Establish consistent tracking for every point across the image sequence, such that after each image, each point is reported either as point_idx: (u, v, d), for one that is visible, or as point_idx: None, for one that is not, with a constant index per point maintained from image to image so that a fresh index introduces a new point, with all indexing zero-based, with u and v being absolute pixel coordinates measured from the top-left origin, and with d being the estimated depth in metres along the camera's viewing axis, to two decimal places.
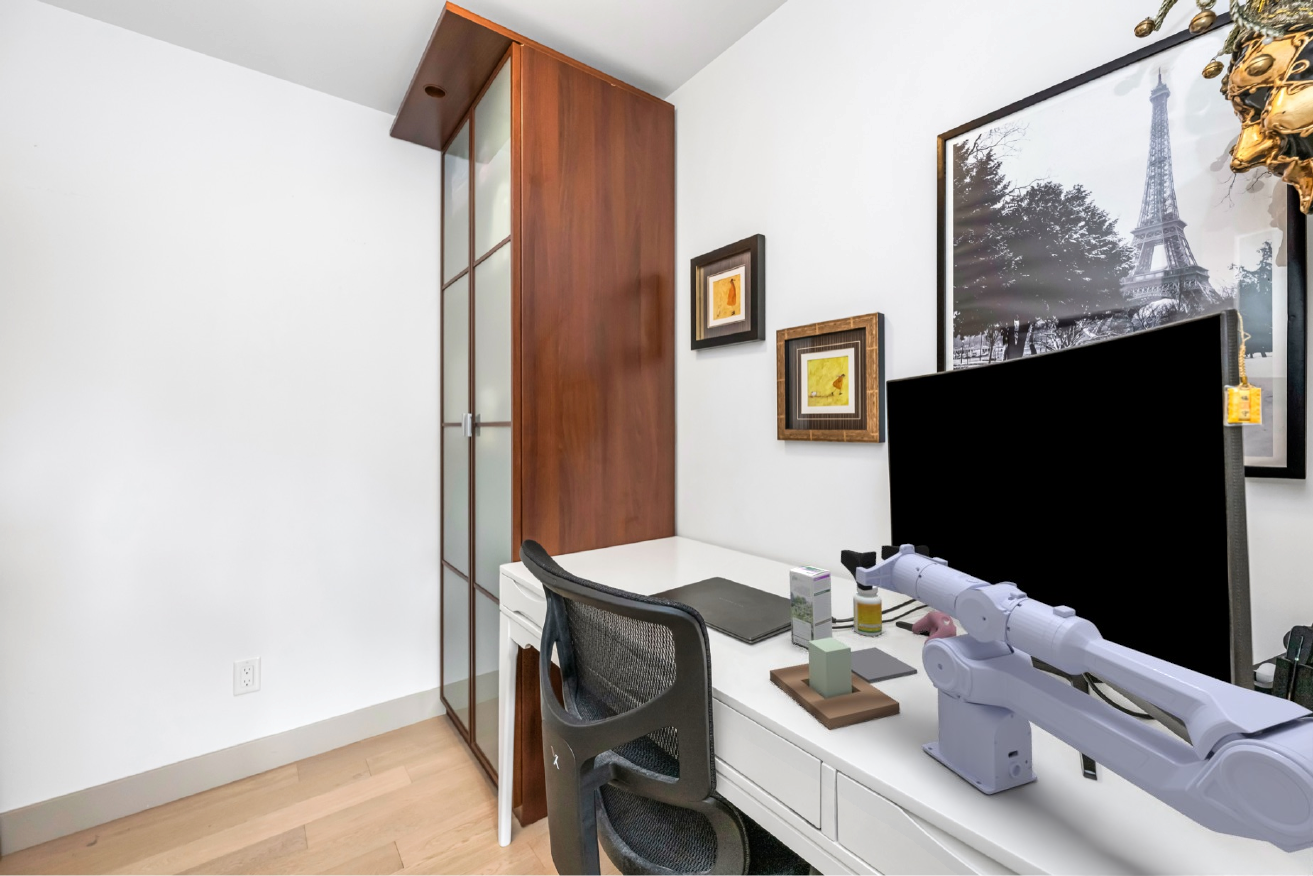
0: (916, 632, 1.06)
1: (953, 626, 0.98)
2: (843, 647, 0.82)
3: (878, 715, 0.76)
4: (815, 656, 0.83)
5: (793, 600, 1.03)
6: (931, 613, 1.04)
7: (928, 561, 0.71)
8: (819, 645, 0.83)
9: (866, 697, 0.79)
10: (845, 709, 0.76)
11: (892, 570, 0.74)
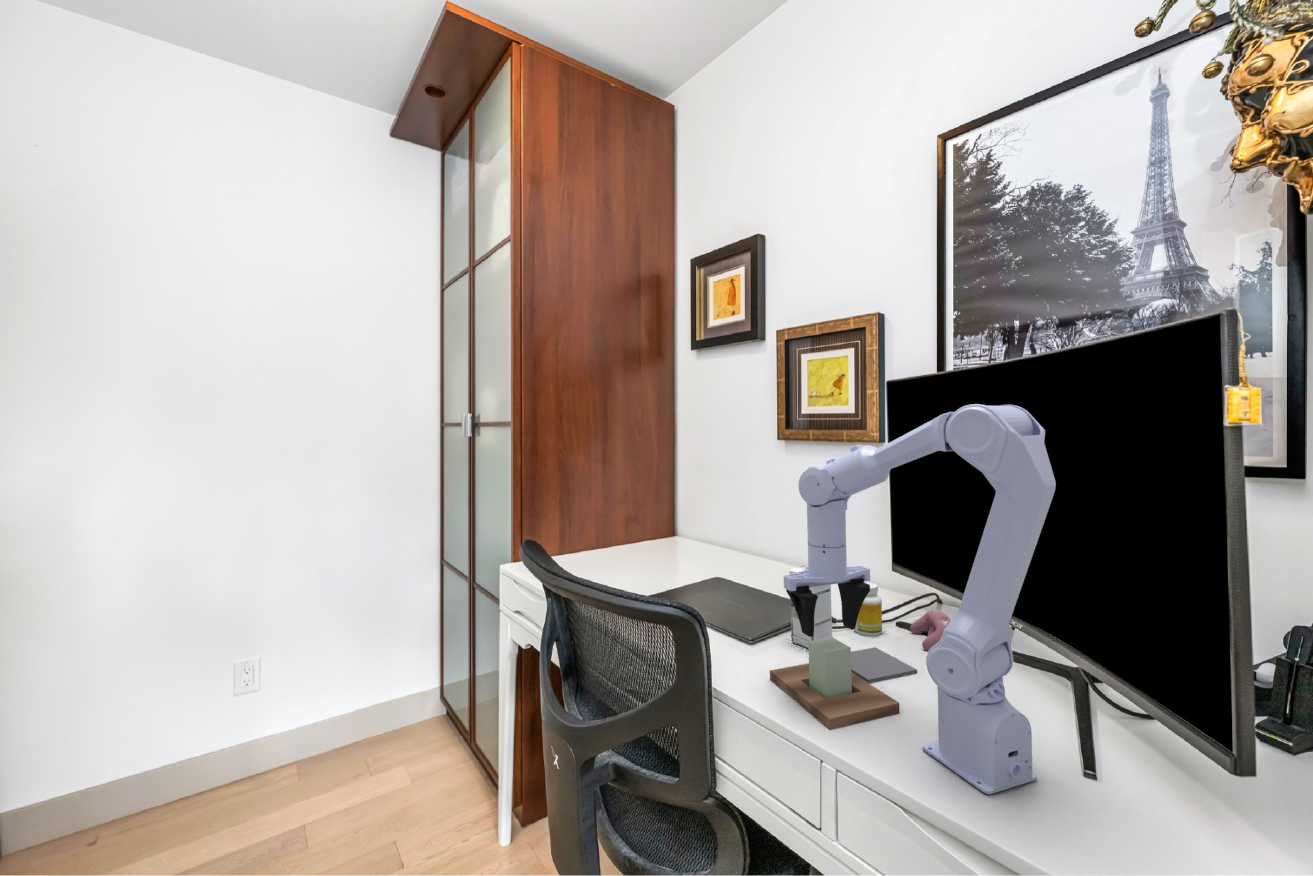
0: (914, 632, 1.06)
1: None
2: (843, 647, 0.82)
3: (878, 715, 0.76)
4: (815, 656, 0.83)
5: None
6: (929, 613, 1.04)
7: None
8: (819, 645, 0.83)
9: (866, 697, 0.79)
10: (845, 709, 0.76)
11: (809, 571, 0.83)
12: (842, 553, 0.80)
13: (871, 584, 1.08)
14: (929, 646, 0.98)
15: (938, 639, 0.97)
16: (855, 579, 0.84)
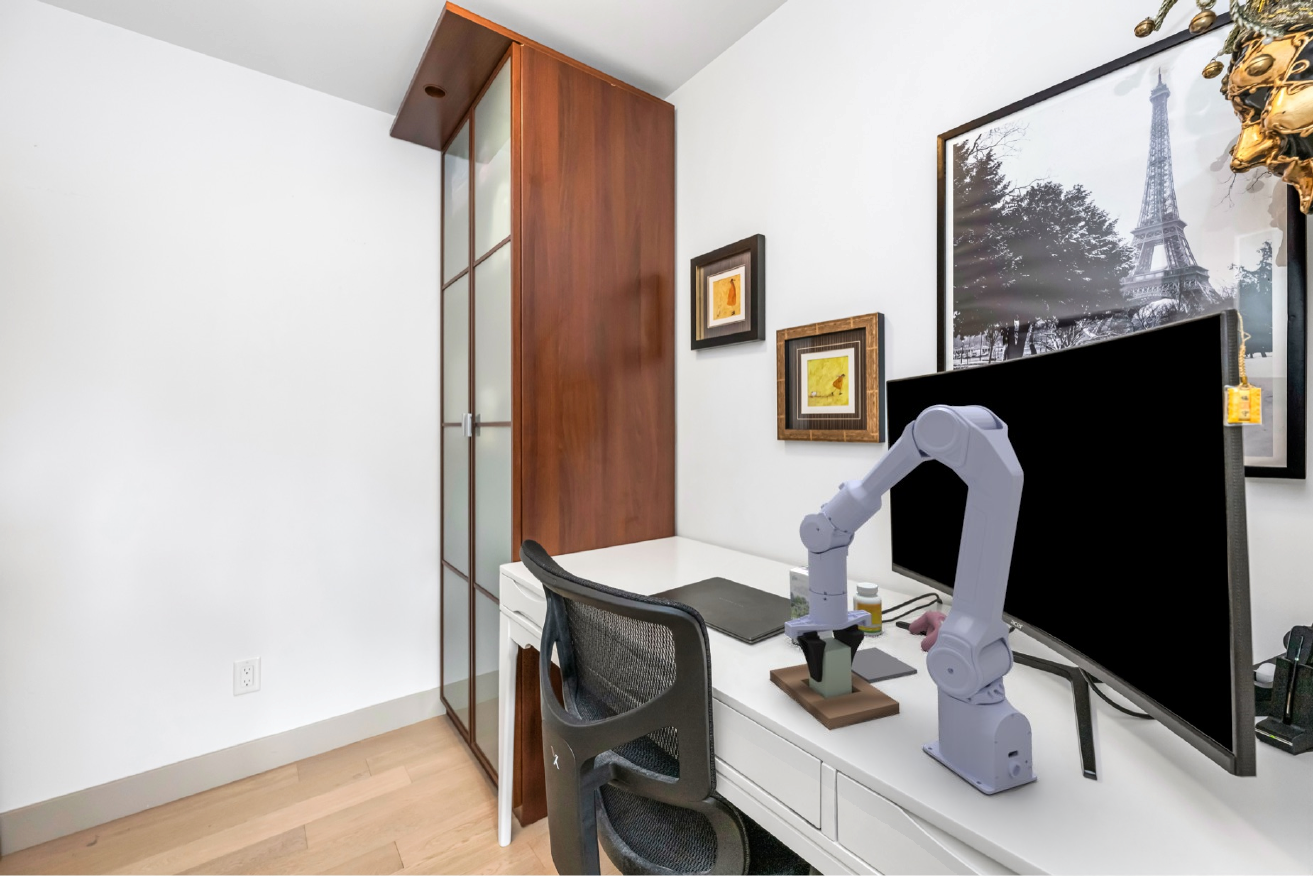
0: (913, 632, 1.06)
1: None
2: (843, 647, 0.82)
3: (878, 715, 0.76)
4: None
5: (793, 600, 1.03)
6: (928, 613, 1.04)
7: None
8: None
9: (866, 697, 0.79)
10: (845, 709, 0.76)
11: (810, 617, 0.83)
12: (843, 600, 0.81)
13: (871, 584, 1.08)
14: (928, 646, 0.98)
15: None
16: (856, 624, 0.84)
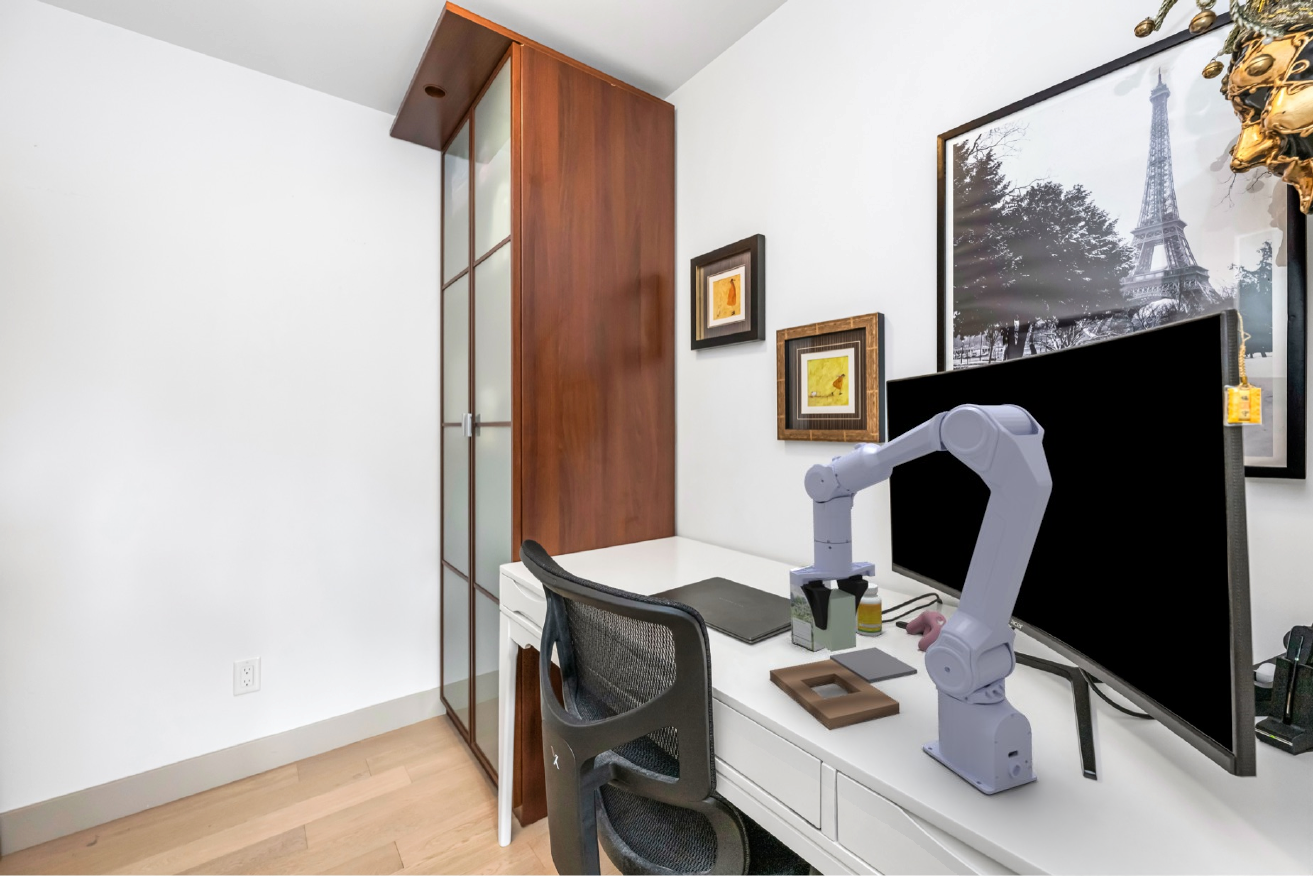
0: (910, 632, 1.06)
1: None
2: (847, 595, 0.83)
3: (878, 715, 0.76)
4: None
5: (793, 600, 1.03)
6: (925, 613, 1.04)
7: None
8: None
9: (866, 697, 0.79)
10: (845, 709, 0.76)
11: (815, 567, 0.84)
12: (848, 549, 0.82)
13: (871, 584, 1.08)
14: (925, 646, 0.98)
15: (934, 639, 0.98)
16: (860, 574, 0.85)
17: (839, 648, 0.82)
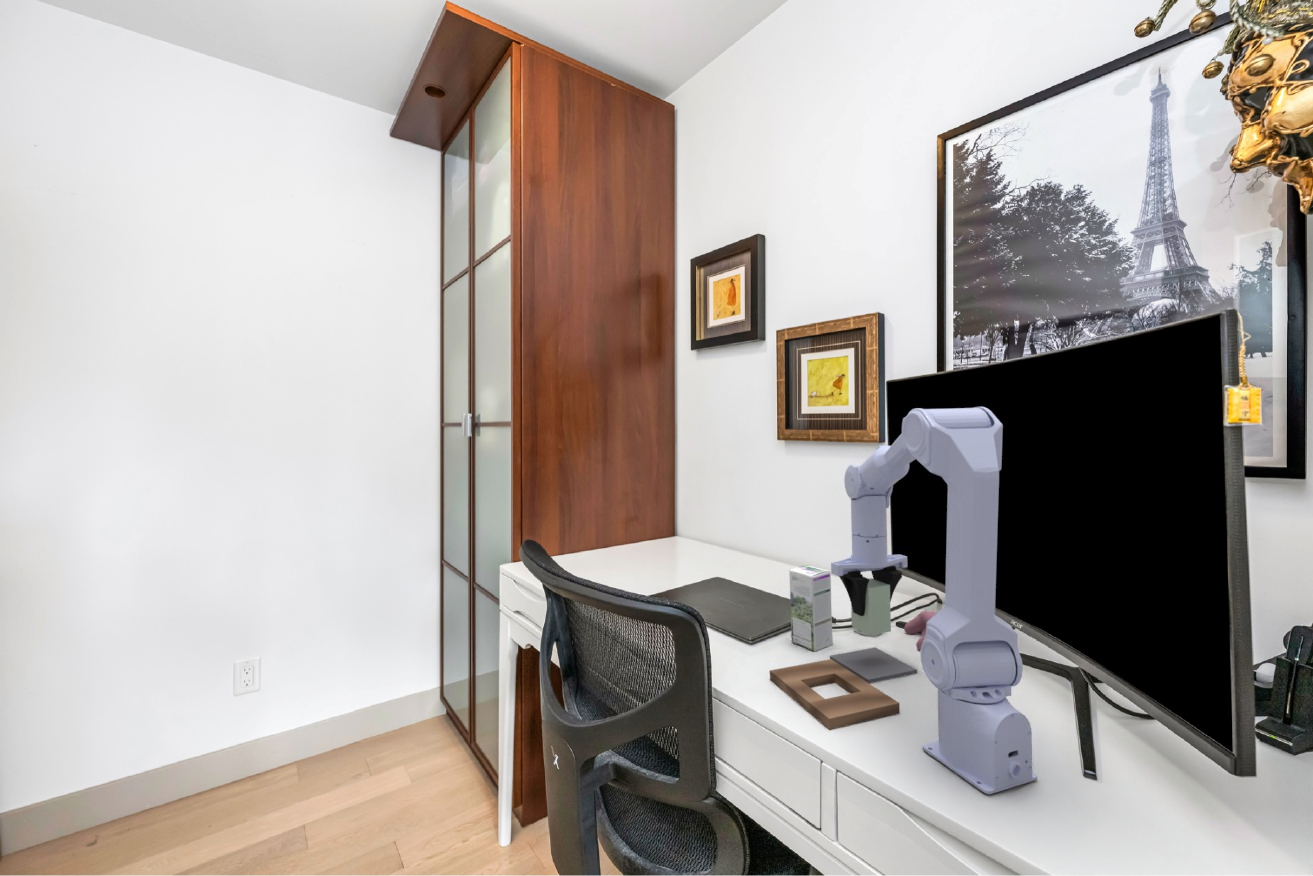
0: (908, 632, 1.06)
1: None
2: (883, 584, 0.91)
3: (878, 715, 0.76)
4: None
5: (793, 600, 1.03)
6: (923, 613, 1.04)
7: None
8: None
9: (866, 697, 0.79)
10: (845, 709, 0.76)
11: (853, 559, 0.92)
12: (884, 542, 0.90)
13: None
14: None
15: None
16: (894, 566, 0.93)
17: (876, 632, 0.90)
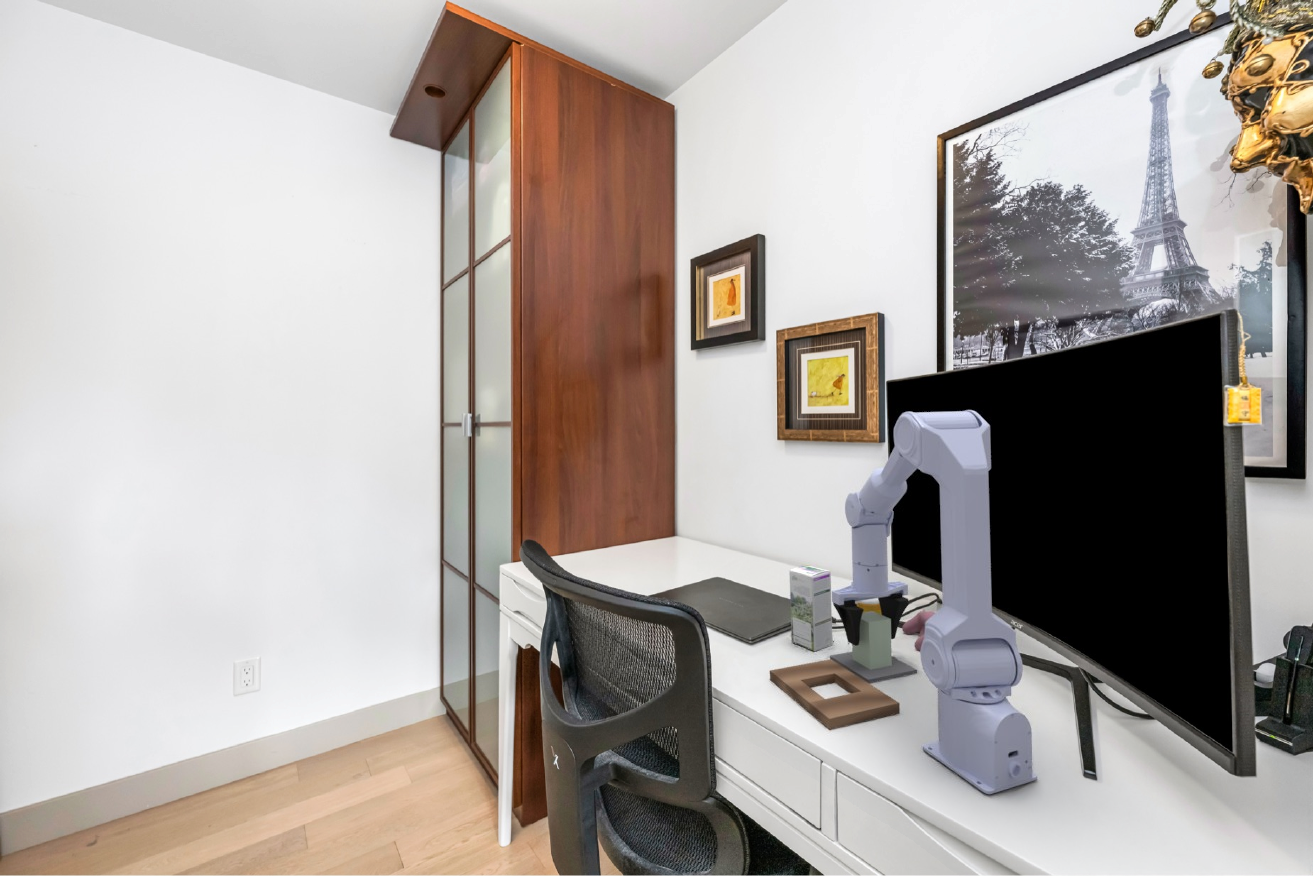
0: (906, 632, 1.06)
1: None
2: (884, 619, 0.91)
3: (878, 715, 0.76)
4: None
5: (793, 600, 1.03)
6: (921, 613, 1.04)
7: None
8: (862, 617, 0.92)
9: (866, 697, 0.79)
10: (845, 709, 0.76)
11: (854, 587, 0.92)
12: (884, 571, 0.90)
13: None
14: None
15: None
16: (895, 594, 0.94)
17: (876, 666, 0.90)
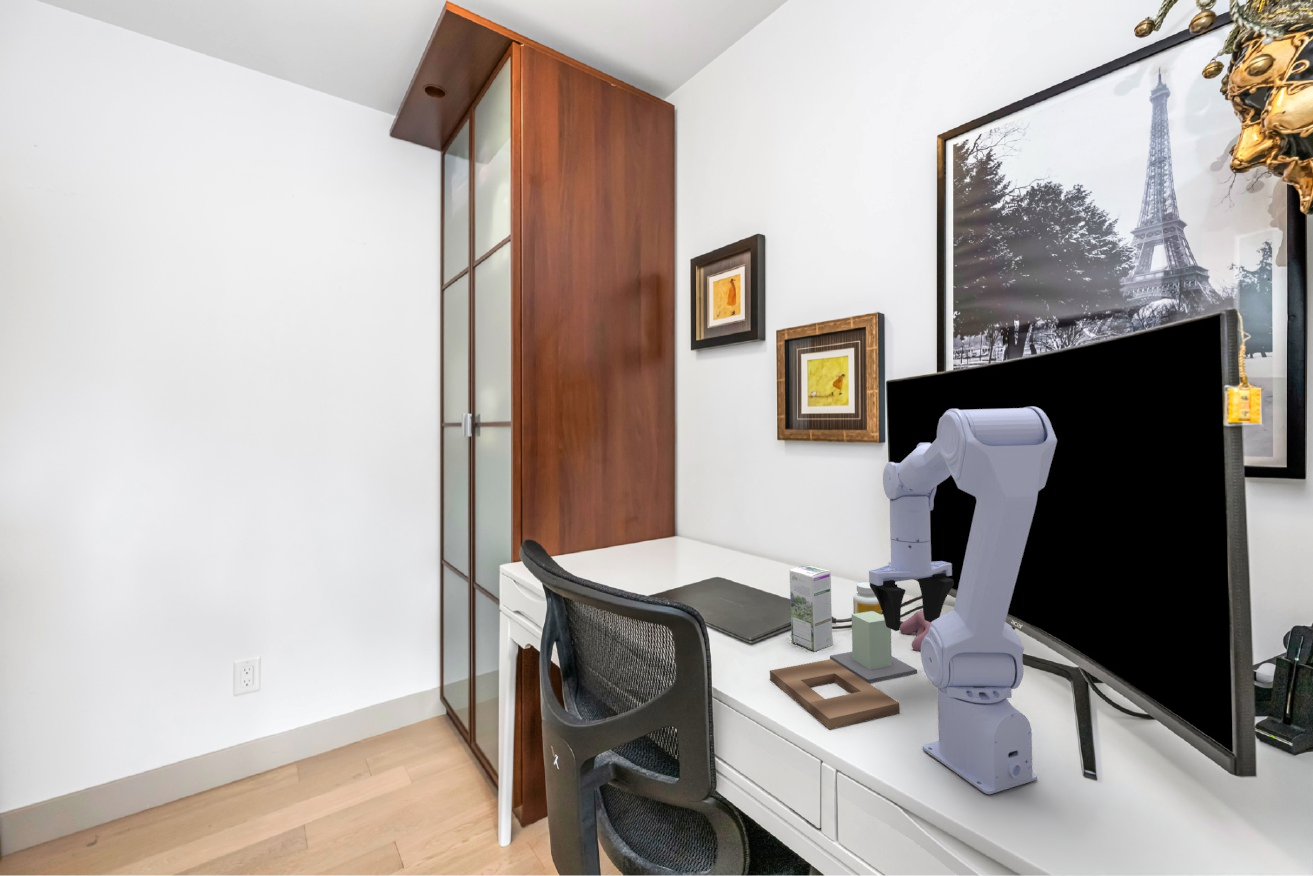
0: (904, 632, 1.06)
1: None
2: (884, 619, 0.91)
3: (878, 715, 0.76)
4: (858, 627, 0.93)
5: (793, 600, 1.03)
6: (918, 613, 1.04)
7: None
8: (862, 617, 0.92)
9: (866, 697, 0.79)
10: (845, 709, 0.76)
11: (892, 566, 0.83)
12: (928, 548, 0.81)
13: None
14: (918, 646, 0.98)
15: None
16: (937, 574, 0.84)
17: (876, 666, 0.90)
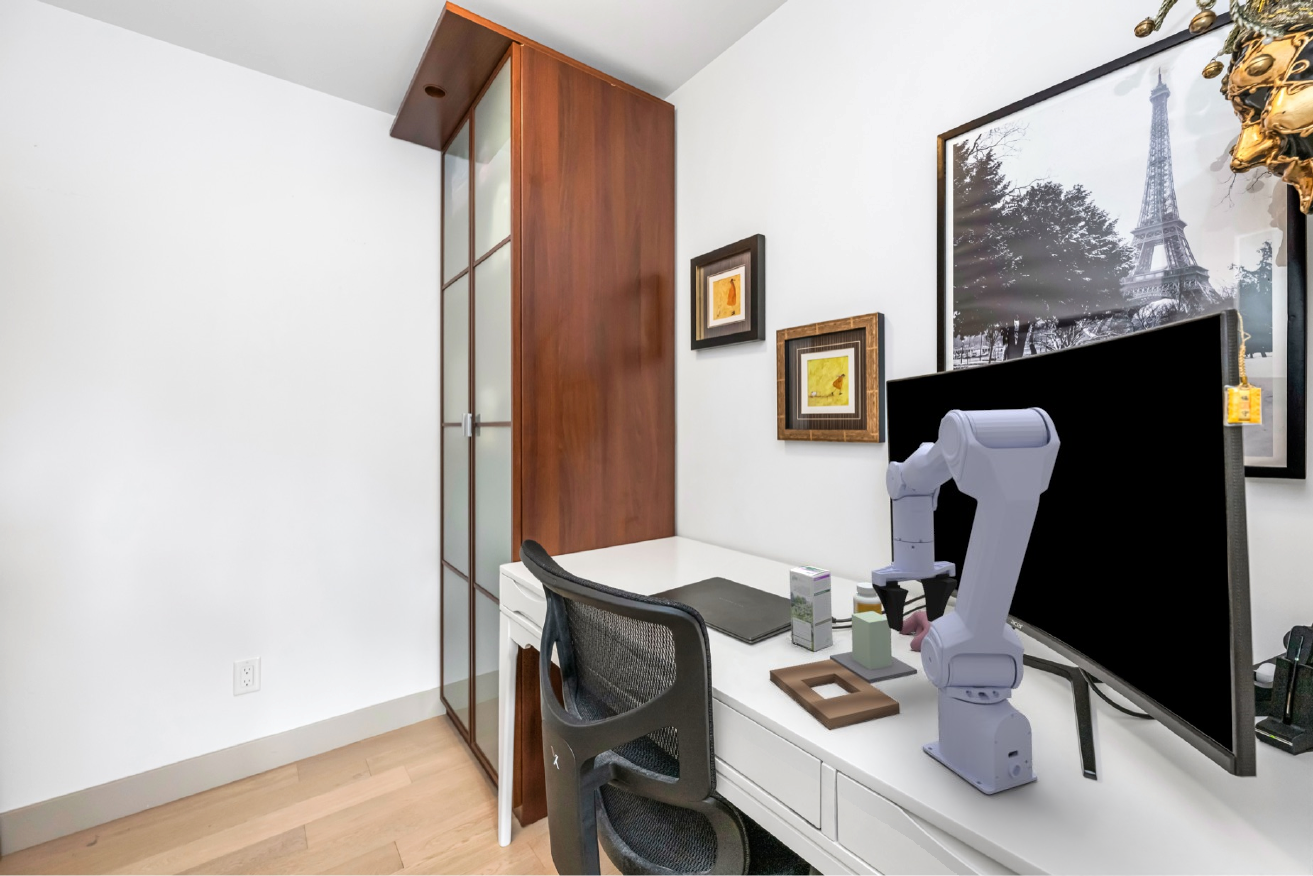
0: (902, 632, 1.06)
1: None
2: (884, 619, 0.91)
3: (878, 715, 0.76)
4: (858, 627, 0.93)
5: (793, 600, 1.03)
6: (917, 613, 1.04)
7: None
8: (862, 617, 0.92)
9: (866, 697, 0.79)
10: (845, 709, 0.76)
11: (895, 567, 0.83)
12: (931, 548, 0.81)
13: (871, 584, 1.08)
14: (917, 646, 0.98)
15: None
16: (940, 574, 0.84)
17: (876, 666, 0.90)
